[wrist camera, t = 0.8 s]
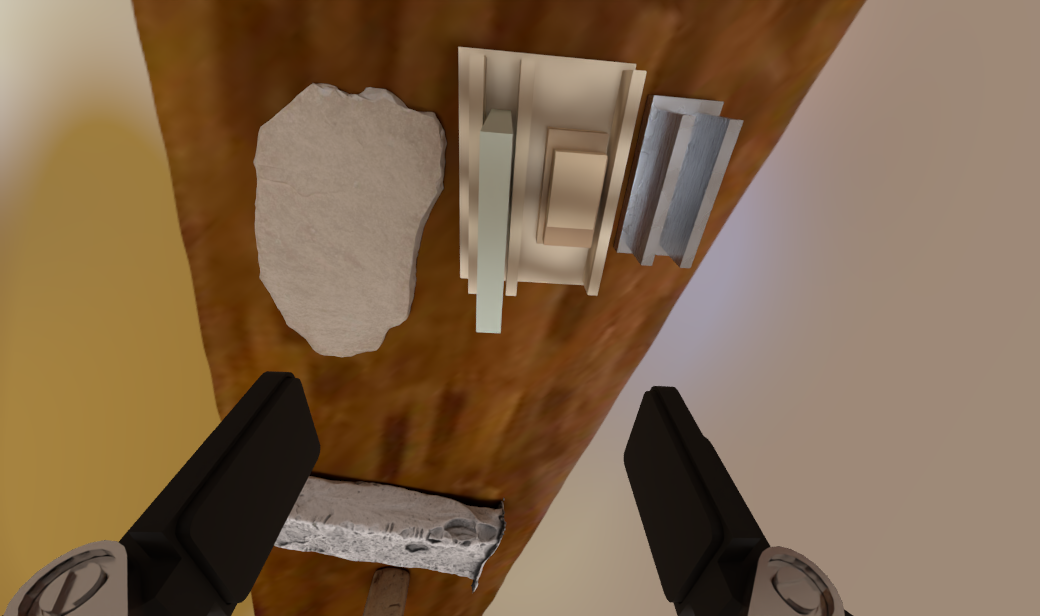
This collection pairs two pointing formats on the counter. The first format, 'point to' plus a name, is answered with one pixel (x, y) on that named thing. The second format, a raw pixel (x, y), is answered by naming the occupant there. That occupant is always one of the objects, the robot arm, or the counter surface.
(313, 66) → the counter surface
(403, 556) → the concrete block
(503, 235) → the grey-green panel
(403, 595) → the block
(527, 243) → the rack
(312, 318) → the stone tablet
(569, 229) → the offcut stack
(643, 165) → the stand
